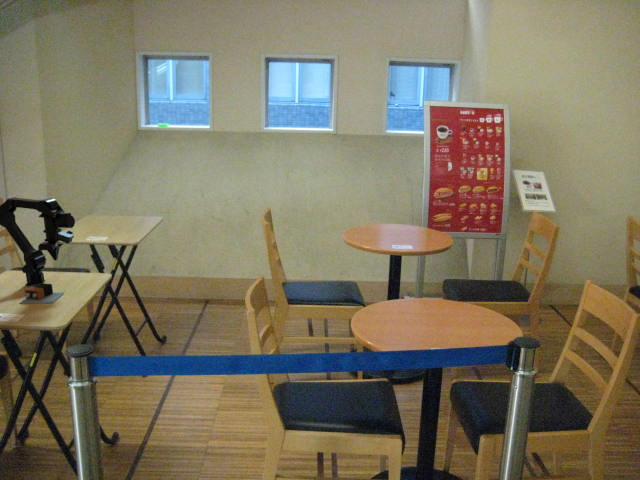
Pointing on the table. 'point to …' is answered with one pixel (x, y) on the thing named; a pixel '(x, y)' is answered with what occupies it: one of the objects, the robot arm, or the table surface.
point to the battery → (38, 291)
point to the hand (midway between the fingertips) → (55, 260)
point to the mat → (43, 299)
